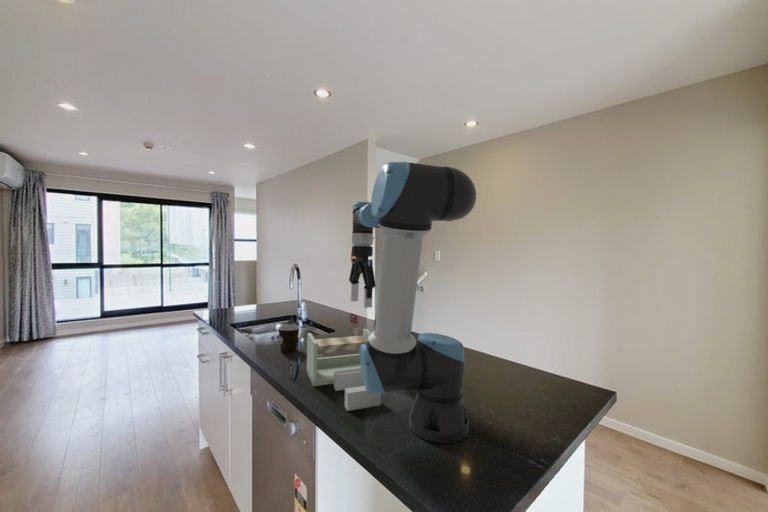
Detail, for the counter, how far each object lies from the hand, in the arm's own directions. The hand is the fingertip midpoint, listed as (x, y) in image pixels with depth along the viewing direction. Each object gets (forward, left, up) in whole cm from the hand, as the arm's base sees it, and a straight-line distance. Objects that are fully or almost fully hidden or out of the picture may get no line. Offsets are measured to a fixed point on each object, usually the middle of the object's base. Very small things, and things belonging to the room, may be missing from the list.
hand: (360, 304), depth 116 cm
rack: (-17, +7, -25) cm, 31 cm away
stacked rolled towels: (0, +7, -15) cm, 16 cm away
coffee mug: (+30, +22, -25) cm, 44 cm away
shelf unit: (0, +7, -25) cm, 26 cm away
